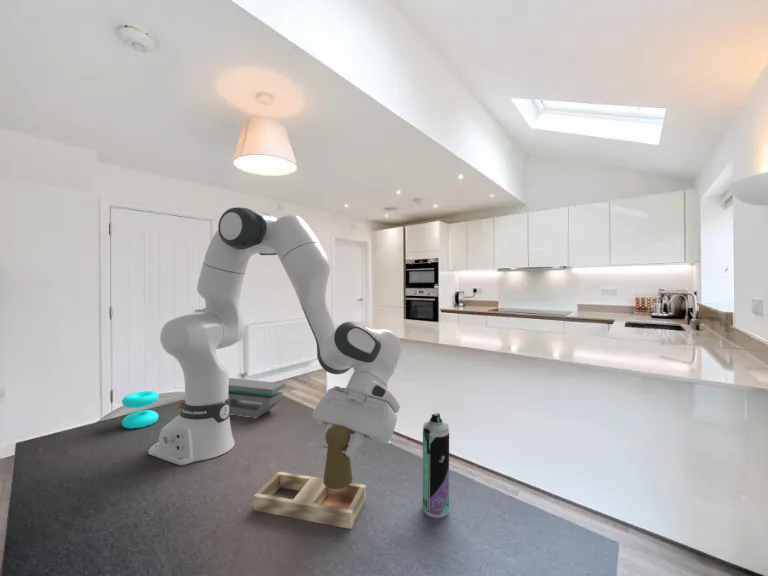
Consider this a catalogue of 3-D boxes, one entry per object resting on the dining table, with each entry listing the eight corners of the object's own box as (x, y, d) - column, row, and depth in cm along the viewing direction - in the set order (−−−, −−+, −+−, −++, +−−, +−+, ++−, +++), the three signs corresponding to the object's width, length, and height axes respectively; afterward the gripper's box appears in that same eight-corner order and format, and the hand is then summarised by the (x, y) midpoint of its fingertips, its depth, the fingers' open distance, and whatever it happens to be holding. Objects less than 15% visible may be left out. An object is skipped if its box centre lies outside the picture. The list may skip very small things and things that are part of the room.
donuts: (159, 388, 119) (157, 396, 111) (159, 416, 119) (157, 426, 111) (124, 392, 114) (119, 401, 106) (124, 421, 114) (119, 432, 106)
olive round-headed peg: (347, 490, 66) (347, 435, 66) (318, 487, 67) (318, 432, 67) (355, 473, 72) (355, 423, 72) (329, 471, 73) (329, 421, 73)
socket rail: (253, 510, 69) (253, 496, 69) (278, 484, 78) (278, 471, 78) (351, 529, 64) (351, 513, 64) (365, 498, 73) (365, 484, 73)
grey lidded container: (285, 412, 123) (285, 383, 123) (272, 420, 115) (272, 389, 115) (229, 405, 130) (229, 377, 130) (213, 413, 123) (214, 383, 122)
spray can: (443, 522, 66) (443, 421, 66) (418, 512, 69) (418, 415, 69) (452, 506, 71) (453, 412, 70) (429, 497, 73) (429, 407, 73)
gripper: (325, 378, 81) (293, 432, 73) (396, 393, 70) (368, 459, 62) (337, 391, 85) (309, 445, 77) (406, 408, 73) (381, 472, 65)
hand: (335, 451), depth 69 cm, fingers closed on olive round-headed peg, 4 cm apart
